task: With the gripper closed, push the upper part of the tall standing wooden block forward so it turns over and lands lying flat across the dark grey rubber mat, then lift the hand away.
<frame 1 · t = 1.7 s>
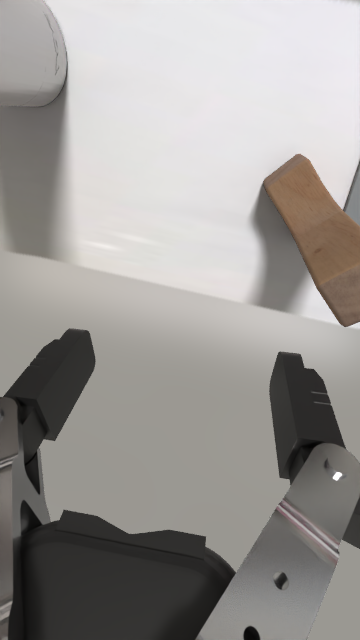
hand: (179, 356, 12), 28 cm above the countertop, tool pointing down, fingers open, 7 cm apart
wooden block: (299, 200, 33), on the countertop
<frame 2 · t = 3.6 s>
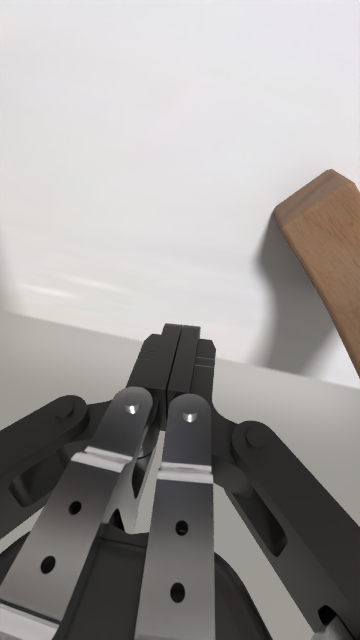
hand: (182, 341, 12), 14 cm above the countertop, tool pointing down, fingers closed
wooden block: (327, 235, 22), on the countertop
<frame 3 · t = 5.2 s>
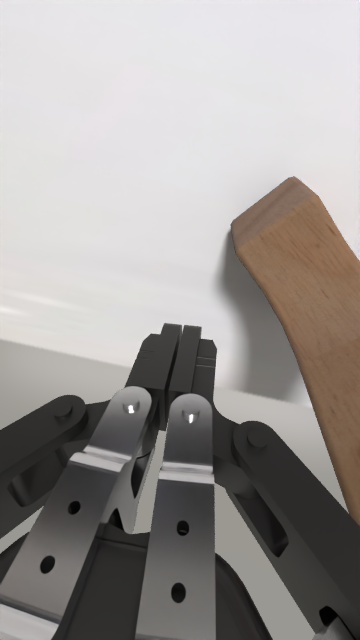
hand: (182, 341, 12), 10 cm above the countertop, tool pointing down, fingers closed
wooden block: (294, 251, 19), on the countertop, touching hand
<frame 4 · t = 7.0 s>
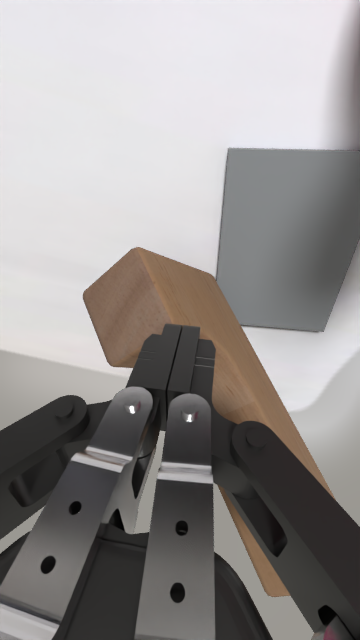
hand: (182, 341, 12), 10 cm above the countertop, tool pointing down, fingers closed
grey mat: (282, 251, 19), on the countertop
wooden block: (154, 278, 18), point 3 cm above the countertop, touching gripper
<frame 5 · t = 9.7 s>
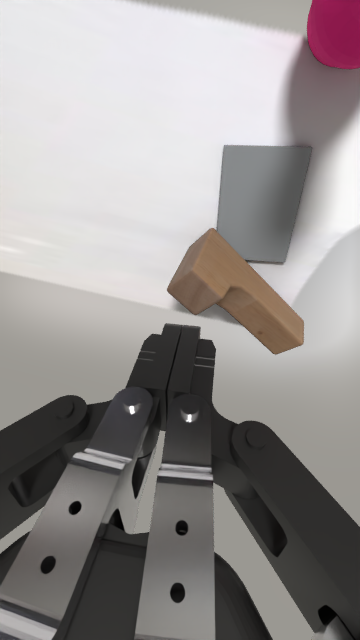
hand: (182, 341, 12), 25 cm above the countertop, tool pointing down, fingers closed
grey mat: (257, 208, 32), on the countertop
pepper mill: (347, 16, 23), on the countertop
wooden block: (188, 255, 32), point 5 cm above the countertop, touching grey mat
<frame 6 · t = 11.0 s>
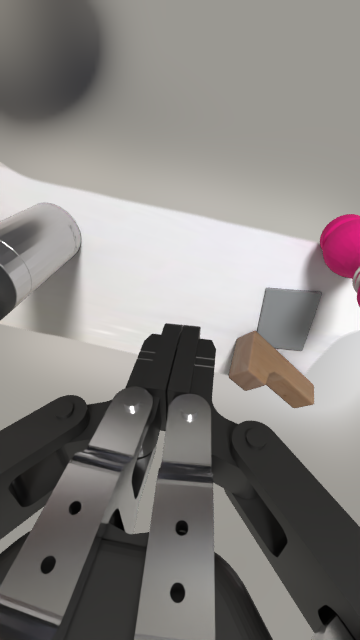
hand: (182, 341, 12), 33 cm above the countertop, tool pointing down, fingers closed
grey mat: (285, 319, 50), on the countertop
pepper mill: (343, 236, 40), on the countertop
wooden block: (240, 351, 49), point 5 cm above the countertop, touching grey mat
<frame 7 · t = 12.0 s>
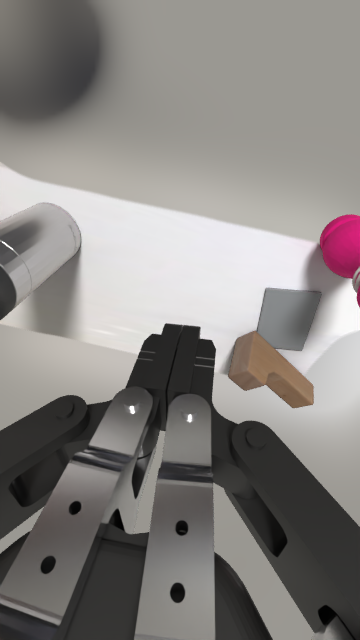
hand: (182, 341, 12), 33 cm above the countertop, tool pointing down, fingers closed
grey mat: (284, 320, 50), on the countertop
pepper mill: (343, 236, 40), on the countertop
wooden block: (240, 351, 49), point 5 cm above the countertop, touching grey mat
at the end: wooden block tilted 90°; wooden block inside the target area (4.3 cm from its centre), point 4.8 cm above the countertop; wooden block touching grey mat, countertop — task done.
